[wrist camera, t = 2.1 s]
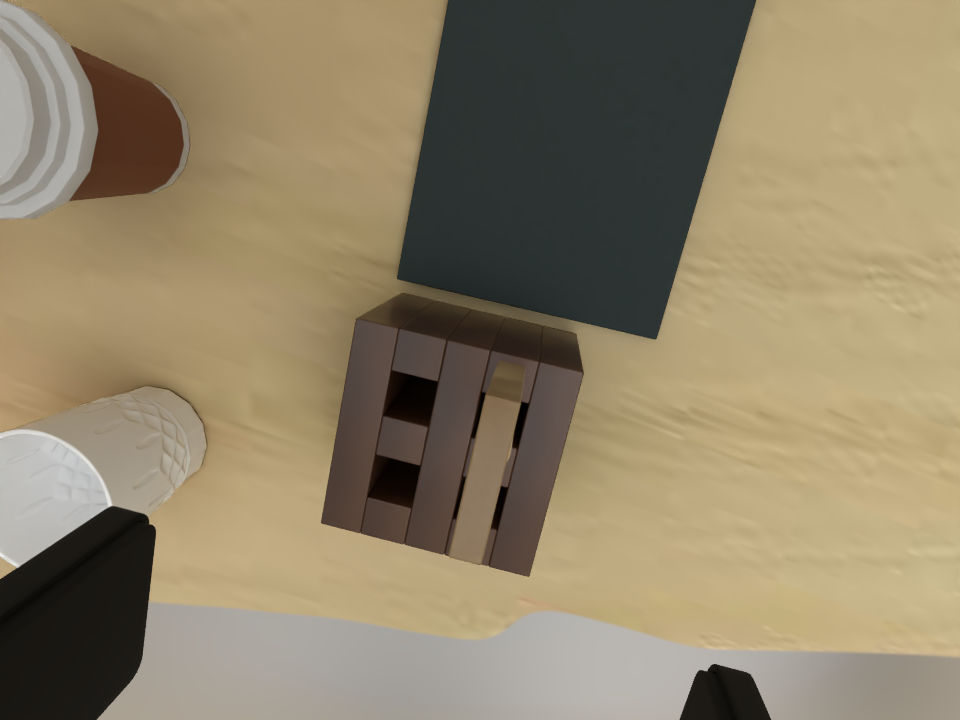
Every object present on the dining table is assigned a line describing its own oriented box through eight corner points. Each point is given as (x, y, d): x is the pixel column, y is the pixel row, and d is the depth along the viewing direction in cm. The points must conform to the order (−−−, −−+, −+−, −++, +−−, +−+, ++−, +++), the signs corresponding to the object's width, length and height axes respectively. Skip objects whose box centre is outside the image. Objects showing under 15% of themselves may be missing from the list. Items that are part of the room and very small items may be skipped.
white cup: (237, 423, 41) (139, 491, 31) (182, 515, 42) (73, 605, 33) (131, 352, 40) (-2, 398, 31) (81, 448, 42) (-60, 519, 32)
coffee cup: (183, 31, 35) (3, -55, 24) (232, 198, 37) (87, 193, 26) (40, 74, 37) (-196, 13, 25) (94, 233, 39) (-102, 243, 27)
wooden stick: (537, 317, 37) (528, 404, 18) (517, 399, 38) (487, 568, 19) (513, 311, 37) (478, 392, 18) (494, 393, 38) (440, 556, 19)
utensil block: (576, 333, 37) (584, 372, 28) (534, 496, 39) (529, 577, 31) (401, 292, 37) (355, 317, 29) (370, 455, 40) (320, 523, 31)
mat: (796, -146, 31) (800, -153, 30) (654, 337, 36) (656, 339, 36) (488, -204, 31) (487, -212, 31) (399, 277, 37) (396, 279, 37)
